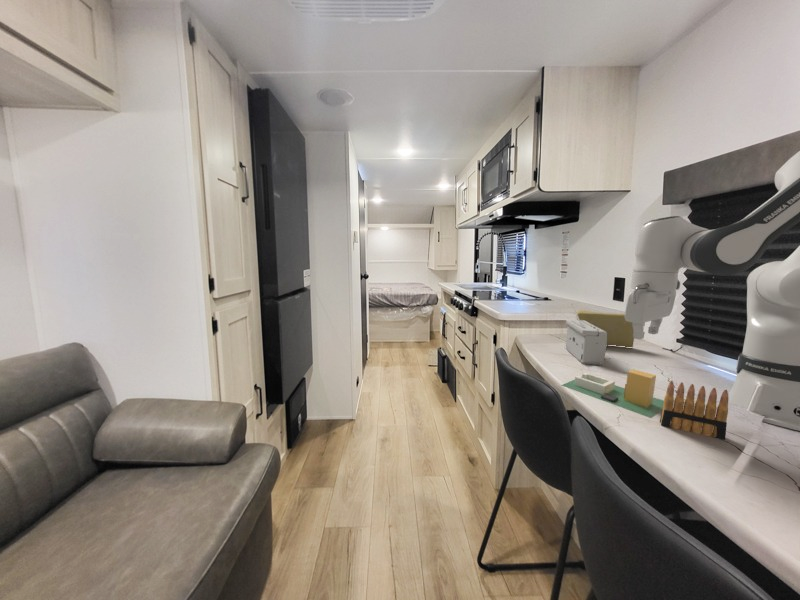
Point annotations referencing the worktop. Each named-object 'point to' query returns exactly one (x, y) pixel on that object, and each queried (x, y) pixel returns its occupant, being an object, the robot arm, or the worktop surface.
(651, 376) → the yellow rectangular block
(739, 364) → the robot arm
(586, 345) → the stereo radio cassette player
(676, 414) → the ammunition clip
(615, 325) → the olive rectangular block
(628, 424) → the worktop surface
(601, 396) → the board
